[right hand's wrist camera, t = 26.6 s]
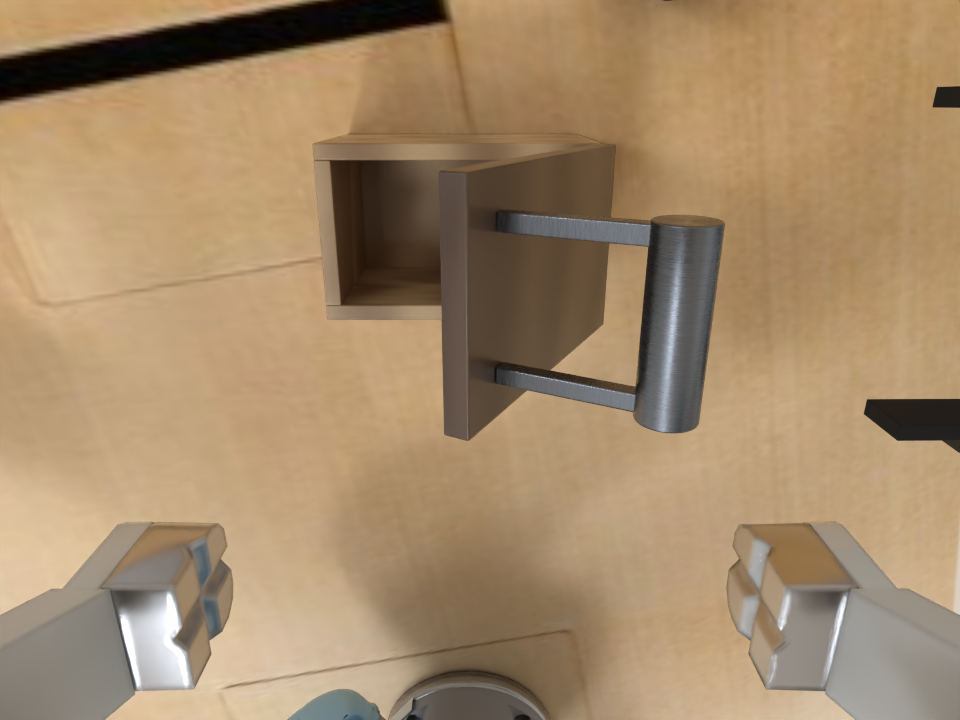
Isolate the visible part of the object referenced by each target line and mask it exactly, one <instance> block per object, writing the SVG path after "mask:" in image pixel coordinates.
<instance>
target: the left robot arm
mask: <svg viewBox="0 0 960 720" xmlns="http://www.w3.org/2000/svg"><path fill="white" fill-rule="evenodd" d="M933 107H951V108H960V86H957V87H937V90H936V94H935V99H934V103H933ZM864 414H865V415H866V416H867V417H868V418H870V419H871V420H872V421H873V422H875V423H876V424H877V425H878V426H880V427H881V428H882V429H884V430H885V431H886V432H887V433H889V434H890V435H891V436H892V437H894V438H895V439H896V440H897V441H915V440H942V441H944V442H945V443H946V444H948V445H949V446H951V447H952V448H953V449H955V450H956V451H957V452H959V453H960V399H867V402H866V407H865V411H864ZM288 720H385V719H384V718H383V717H382V716H381V715H380V711H379V710H378V707H377V705H376V704H374V703H370V702H368V701H367V700H366V699H365V698H364V697H362V696H361V695H360V694H359V693H357V692H355V691H353V690H349V689H339V690H334V691H330V692H328V693H325V694H323V695H321V696H319V697H317V698H315V699H313V700H312V701H310V702H309V703H308V704H306V705H305V706H304V707H303V708H301V709H300V710H298V711H297V712H296V713H295V714H293V715H292V716H291V717H290V718H289V719H288ZM388 720H550V719H549V716H548V714H547V712H546V710H545V708H544V706H543V705H542V704H541V702H540V701H539V700H538V699H537V698H536V697H535V695H533V694H532V693H531V692H530V691H529V690H527V689H526V688H524V687H523V686H521V685H520V684H518V683H516V682H514V681H512V680H510V679H507V678H504V677H501V676H498V675H494V674H489V673H483V672H454V673H448V674H443V675H439V676H436V677H433V678H430V679H428V680H425V681H423V682H421V683H419V684H418V685H416V686H414V687H413V688H411V689H410V690H409V691H407V692H406V693H405V694H404V695H403V696H402V697H401V698H400V699H399V700H398V701H397V703H396V704H395V705H394V707H393V709H392V711H391V713H390V715H389V718H388Z"/></svg>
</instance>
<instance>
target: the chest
mask: <svg viewBox="0 0 960 720" xmlns="http://www.w3.org/2000/svg"><path fill="white" fill-rule="evenodd" d="M593 144H602V143H600V142H597V141H594V140H591V139H589V138H586V137H583V136H581V135H578V134H346V135H343V136H339V137H336V138H332V139H328V140H325V141H321V142H317V143H314V144H313V156H314V160H315V161H314V170H315V182H316V193H317V205H318V217H319V228H320V240H321V251H322V263H323V275H324V286H325V298H326V305H327V306H326V309H327V319H328V320H442V308H441V262H440V215H439V171H441V170H446V169H451V168H457V167H463V166H469V165H475V164H481V163H487V162H493V161H499V160H505V159H510V158H516V157H522V156H528V155H534V154H540V153H546V152H552V151H558V150H564V149H569V148H575V147H581V146H587V145H593Z"/></svg>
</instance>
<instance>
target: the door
mask: <svg viewBox="0 0 960 720" xmlns="http://www.w3.org/2000/svg"><path fill="white" fill-rule="evenodd" d="M615 148H616V146H615V145H614V144H593V145H587V146H581V147H575V148H569V149H564V150H558V151H552V152H546V153H540V154H534V155H528V156H522V157H516V158H510V159H505V160H499V161H493V162H487V163H481V164H475V165H469V166H463V167H457V168H451V169H446V170H441V171H439V215H440V262H441V308H442V354H443V400H444V434H445V435H447V436H451V437H454V438H458V439H462V440H466V441H469V440H470V439H472V438H473V437H474V436H475V435H476V434H477V433H479V432H480V431H481V430H482V429H483V428H484V427H485V426H487V425H488V424H489V423H490V422H491V421H492V420H494V419H495V418H496V417H497V416H498V415H499V414H500V413H502V412H503V411H504V410H505V409H506V408H507V407H508V406H510V405H511V404H512V403H513V402H514V401H515V400H517V399H518V398H519V397H520V396H521V395H522V394H523V393H525V392H526V391H527V390H529V391H534V392H539V393H544V394H549V395H553V396H558V397H563V398H568V399H573V400H578V401H582V402H587V403H592V404H597V405H602V406H607V407H611V408H616V409H621V410H626V411H631V412H633V416H634V419H635V420H636V422H637V423H639V424H640V425H642V426H643V427H646V428H648V429H651V430H654V431H658V432H664V433H683V432H688V431H691V430H693V429H695V428H696V427H697V426H698V424H699V418H700V411H701V403H702V395H703V388H704V380H705V373H706V365H707V357H708V350H709V342H710V334H711V327H712V319H713V311H714V304H715V296H716V288H717V281H718V273H719V266H720V258H721V250H722V243H723V235H724V227H725V223H724V222H723V221H721V220H719V219H715V218H710V217H704V216H693V215H666V216H658V217H655V218H652V220H651V221H647V220H634V219H621V218H611V206H612V191H613V177H614V163H615ZM609 243H615V244H625V245H636V246H646V247H648V258H647V269H646V280H645V291H644V302H643V312H642V323H641V334H640V345H639V356H638V367H637V378H636V387H634V386H628V385H623V384H618V383H613V382H607V381H602V380H597V379H592V378H586V377H581V376H576V375H571V374H565V373H560V372H555V371H550V370H551V369H552V368H553V367H555V366H556V365H557V364H558V363H559V362H560V361H561V360H563V359H564V358H565V357H566V356H567V355H568V354H570V353H571V352H572V351H573V350H574V349H575V348H576V347H578V346H579V345H580V344H581V343H582V342H583V341H584V340H586V339H587V338H588V337H589V336H590V335H591V334H593V333H594V332H595V331H596V330H597V329H598V328H599V327H601V326H602V325H603V321H604V306H605V292H606V278H607V263H608V249H609Z"/></svg>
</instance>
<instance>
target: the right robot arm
mask: <svg viewBox="0 0 960 720" xmlns="http://www.w3.org/2000/svg"><path fill="white" fill-rule="evenodd" d="M226 548H227V542H226V537H225V532H224V528H223V527H222V526H220V525H219V524H218V523H174V522H157V523H154V522H125V523H122V524H119V525H117V526H116V527H115V528H114V529H113V531H112V532H111V533H110V534H109V535H108V536H107V537H106V539H105V540H104V541H103V542H102V543H101V544H100V546H99V547H98V548H97V549H96V550H95V551H94V553H93V554H92V555H91V556H90V557H89V558H88V560H87V561H86V562H85V563H84V564H83V565H82V566H81V568H80V569H79V570H78V571H77V572H76V573H75V575H74V576H73V577H72V578H71V579H70V580H69V582H68V583H67V584H66V585H65V586H64V587H63V589H51V590H49V591H47V592H45V593H43V594H41V595H39V596H37V597H35V598H33V599H31V600H29V601H27V602H25V603H23V604H21V605H19V606H17V607H15V608H13V609H11V610H9V611H7V612H6V613H4V614H2V615H0V720H105V719H106V718H107V717H109V716H110V715H111V714H112V713H113V712H115V711H116V710H117V709H118V708H119V707H120V706H122V705H123V704H124V703H125V702H126V701H127V700H129V699H130V698H131V697H132V696H133V695H135V692H134V691H153V690H187V689H194V688H195V686H196V684H197V682H198V680H199V678H200V676H201V674H202V672H203V670H204V668H205V666H206V664H207V662H208V660H209V658H210V656H211V648H210V643H209V640H211V639H212V638H214V637H215V636H216V635H218V634H219V633H221V632H222V631H223V629H224V627H225V624H226V622H227V620H228V618H229V614H230V610H231V605H232V600H233V579H232V572H231V569H230V568H229V567H228V566H227V565H226V564H225V563H224V562H223V561H222V560H221V557H222V555H223V553H224V551H225V550H226ZM733 548H734V550H735V551H736V553H737V555H738V557H739V560H738V561H737V562H736V563H735V564H734V565H733V566H732V567H731V568H730V569H729V572H728V580H727V599H728V607H729V610H730V614H731V618H732V620H733V622H734V624H735V627H736V629H737V631H738V632H739V633H741V634H742V635H744V636H745V637H746V638H748V639H749V640H751V643H750V648H749V656H750V658H751V660H752V662H753V664H754V666H755V668H756V670H757V672H758V674H759V676H760V678H761V680H762V682H763V684H764V686H765V688H766V689H771V690H807V691H825V694H826V695H827V696H828V697H829V698H830V699H832V700H833V701H834V702H835V703H836V704H838V705H839V706H840V707H841V708H842V709H843V710H845V711H846V712H847V713H848V714H849V715H850V716H852V717H853V718H854V719H855V720H960V615H958V614H956V613H954V612H952V611H950V610H948V609H947V608H945V607H943V606H941V605H939V604H937V603H935V602H933V601H931V600H929V599H927V598H925V597H923V596H921V595H919V594H917V593H915V592H913V591H911V590H909V589H897V587H896V586H895V585H894V584H893V583H892V582H891V580H890V579H889V578H888V577H887V576H886V575H885V573H884V572H883V571H882V570H881V569H880V568H879V567H878V565H877V564H876V563H875V562H874V561H873V560H872V558H871V557H870V556H869V555H868V554H867V553H866V551H865V550H864V549H863V548H862V547H861V546H860V545H859V543H858V542H857V541H856V540H855V539H854V538H853V536H852V535H851V534H850V533H849V532H848V531H847V529H846V528H845V527H844V526H843V525H841V524H839V523H837V522H807V523H791V524H739V526H738V528H737V530H736V532H735V536H734V541H733Z"/></svg>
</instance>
